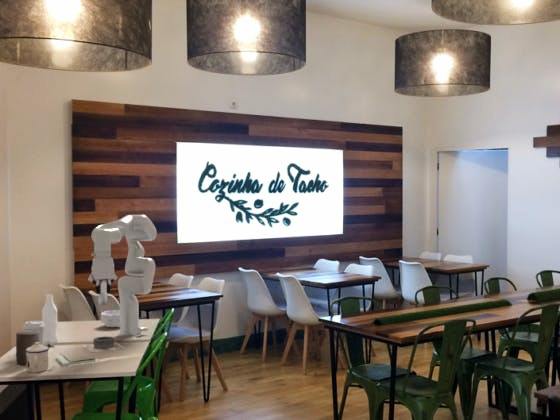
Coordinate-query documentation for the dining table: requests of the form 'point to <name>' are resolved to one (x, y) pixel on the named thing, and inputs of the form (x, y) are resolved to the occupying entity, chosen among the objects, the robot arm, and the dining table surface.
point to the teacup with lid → (37, 358)
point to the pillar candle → (25, 344)
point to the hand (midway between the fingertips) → (103, 293)
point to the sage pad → (65, 361)
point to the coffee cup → (36, 328)
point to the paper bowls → (111, 318)
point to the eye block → (103, 344)
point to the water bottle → (49, 321)
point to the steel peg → (103, 292)
